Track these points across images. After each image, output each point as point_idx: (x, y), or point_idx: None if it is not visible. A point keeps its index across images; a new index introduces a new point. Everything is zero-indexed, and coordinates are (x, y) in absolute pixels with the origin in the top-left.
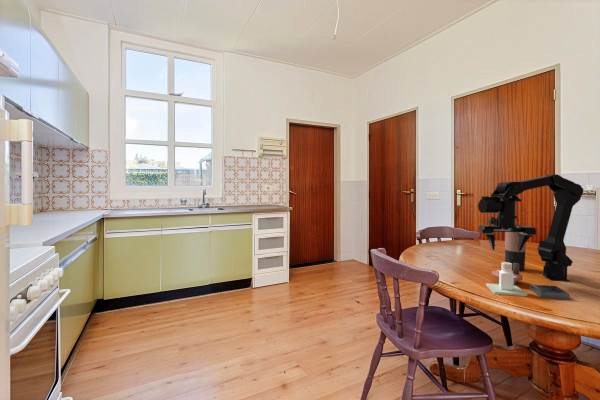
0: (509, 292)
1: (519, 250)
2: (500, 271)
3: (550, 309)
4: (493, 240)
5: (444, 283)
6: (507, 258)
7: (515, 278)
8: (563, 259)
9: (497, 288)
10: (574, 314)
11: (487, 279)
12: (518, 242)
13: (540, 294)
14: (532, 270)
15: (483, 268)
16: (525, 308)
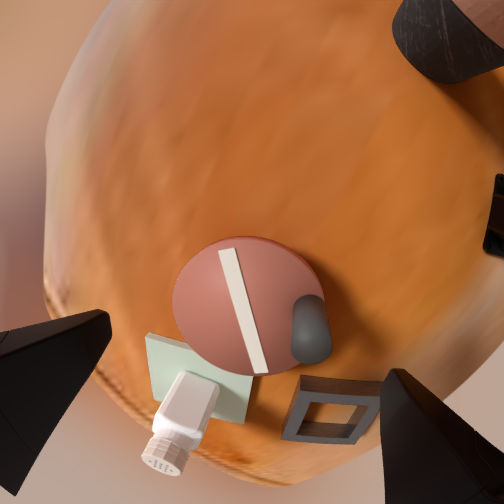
0: None
1: (380, 401)
2: (153, 428)
3: (251, 461)
4: (37, 435)
5: (48, 302)
6: (416, 13)
7: (254, 374)
8: None
9: (169, 382)
10: (283, 473)
11: (179, 253)
12: (438, 445)
13: (282, 430)
14: (493, 87)
15: (253, 32)
16: (199, 453)
